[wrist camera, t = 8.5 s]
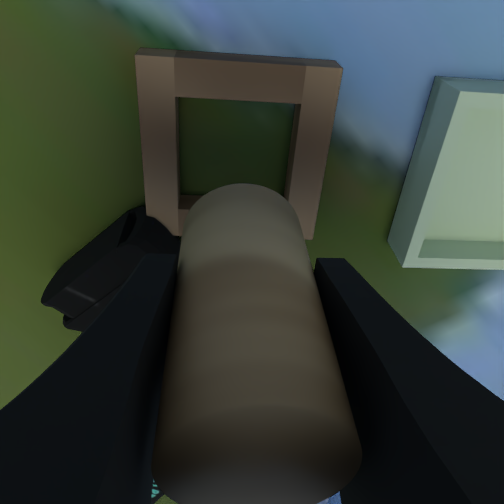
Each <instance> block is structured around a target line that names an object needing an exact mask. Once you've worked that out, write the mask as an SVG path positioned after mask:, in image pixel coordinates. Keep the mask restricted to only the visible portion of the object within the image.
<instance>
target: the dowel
mask: <svg viewBox="0 0 504 504" xmlns="http://www.w3.org/2000/svg"><path fill="white" fill-rule="evenodd" d="M361 462H362V447H361V444H360V440H359V436H358V433H357V429H356V426H355V422H354V418H353V415H352V411H351V407H350V404H349V400H348V396H347V393H346V389H345V385H344V382H343V378H342V375H341V371H340V367H339V364H338V360H337V356H336V353H335V349H334V345H333V342H332V338H331V334H330V331H329V327H328V324H327V320H326V316H325V313H324V309H323V305H322V302H321V298H320V294H319V291H318V287H317V283H316V280H315V276H314V273H313V269H312V265H311V262H310V258H309V254H308V251H307V247H306V243H305V240H304V236H303V233H302V229H301V225H300V222H299V219H298V216H297V214H296V212H295V210H294V208H293V207H292V205H291V204H290V203H289V202H288V201H287V200H286V199H285V198H284V197H283V196H281V195H280V194H278V193H277V192H275V191H273V190H271V189H269V188H266V187H263V186H260V185H255V184H245V183H240V184H231V185H226V186H222V187H219V188H217V189H214V190H212V191H210V192H209V193H207V194H205V195H204V196H202V197H201V198H200V199H199V200H198V201H197V202H196V203H195V204H194V205H193V206H192V208H191V209H190V211H189V212H188V214H187V216H186V218H185V221H184V225H183V231H182V238H181V246H180V253H179V261H178V268H177V276H176V284H175V291H174V299H173V306H172V313H171V320H170V328H169V335H168V343H167V350H166V357H165V365H164V372H163V380H162V387H161V395H160V402H159V410H158V417H157V424H156V432H155V439H154V447H153V454H152V462H151V472H152V476H153V479H154V481H155V483H156V484H157V486H158V488H159V489H160V490H161V491H162V492H163V493H164V494H165V495H167V496H168V497H169V498H171V499H172V500H174V501H175V502H177V503H179V504H317V503H319V502H321V501H324V500H326V499H327V498H329V497H331V496H333V495H334V494H336V493H337V492H339V491H340V490H342V489H343V488H344V487H345V486H346V485H347V484H348V483H349V482H350V481H351V480H352V479H353V478H354V476H355V475H356V473H357V472H358V470H359V468H360V465H361Z"/></svg>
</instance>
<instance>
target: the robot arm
mask: <svg viewBox="0 0 504 504" xmlns="http://www.w3.org/2000/svg"><path fill="white" fill-rule="evenodd" d="M176 276H177V256H176V254H154V253H147V254H146V255H145V256H144V257H142V259H141V260H140V262H139V263H138V265H137V266H136V268H135V269H134V270H133V272H132V273H131V275H130V276H129V277H128V279H127V280H126V281H125V283H124V284H123V285H122V287H121V288H120V289H119V290H118V292H117V293H116V294H115V295H114V297H113V298H112V299H111V300H110V301H109V303H108V304H107V305H106V306H105V307H104V309H103V310H102V311H101V312H100V314H99V315H98V316H97V317H96V318H95V319H94V321H93V322H92V323H91V324H90V325H89V326H88V327H87V328H86V329H85V330H84V331H83V332H82V334H81V335H80V336H79V337H78V338H77V339H76V340H75V341H74V342H73V343H72V344H71V345H70V346H69V347H68V349H67V350H66V351H65V352H64V353H63V354H62V355H61V356H60V357H59V358H58V359H57V360H56V361H55V362H54V363H53V364H52V365H50V366H49V367H48V368H47V369H46V370H45V371H44V372H43V373H42V374H41V375H40V376H39V377H38V378H37V379H36V380H34V381H33V382H32V383H31V384H30V385H29V386H28V387H27V388H26V389H24V390H23V391H22V392H21V393H20V394H19V395H18V396H17V397H15V398H14V399H13V400H12V401H11V402H9V403H8V404H7V405H6V406H5V407H3V408H2V409H1V410H0V504H151V496H152V487H153V481H154V479H153V476H152V472H151V462H152V454H153V447H154V439H155V432H156V424H157V417H158V410H159V402H160V395H161V387H162V380H163V372H164V365H165V357H166V350H167V343H168V335H169V328H170V320H171V313H172V306H173V299H174V291H175V284H176ZM314 276H315V280H316V283H317V287H318V291H319V294H320V298H321V302H322V305H323V309H324V313H325V316H326V320H327V324H328V327H329V331H330V334H331V338H332V342H333V345H334V349H335V353H336V356H337V360H338V364H339V367H340V371H341V375H342V378H343V382H344V385H345V389H346V393H347V396H348V400H349V404H350V407H351V411H352V415H353V418H354V422H355V426H356V429H357V433H358V436H359V440H360V444H361V447H362V462H361V465H360V468H359V470H358V472H357V473H356V475H355V476H354V478H353V479H352V480H351V481H350V482H349V483H348V484H347V485H346V486H345V487H344V488H343V489H342V490H340V497H341V503H342V504H504V401H503V400H502V399H500V398H499V397H497V396H496V395H495V394H493V393H492V392H491V391H489V390H488V389H487V388H485V387H484V386H483V385H482V384H480V383H479V382H478V381H476V380H475V379H474V378H472V377H471V376H470V375H468V374H467V373H466V372H464V371H463V370H462V369H461V368H459V367H458V366H457V365H456V364H454V363H453V362H452V361H451V360H450V359H448V358H447V357H446V356H445V355H444V354H443V353H441V352H440V351H439V350H438V349H437V348H436V347H435V346H433V345H432V344H431V343H430V342H429V341H428V340H427V339H425V338H424V337H423V336H422V335H421V334H420V333H419V332H418V331H417V330H415V329H414V328H413V327H412V326H411V325H410V324H409V323H408V322H407V321H406V320H405V319H404V318H403V317H402V316H401V315H400V314H399V313H397V312H396V311H395V310H394V309H393V308H392V307H391V306H390V305H389V304H388V303H387V302H386V301H385V300H384V299H383V298H382V297H381V296H380V295H379V294H378V293H377V291H376V290H375V289H374V288H373V287H372V286H371V285H370V284H369V283H368V282H367V281H366V280H365V279H364V278H363V277H362V276H361V275H360V274H359V273H358V272H357V271H356V270H355V269H354V268H353V267H352V266H351V265H350V264H349V263H348V262H347V261H346V260H345V259H344V258H317V259H316V264H315V270H314ZM328 499H329V498H327V499H326V500H324V501H321V502H319V503H317V504H327V502H328Z"/></svg>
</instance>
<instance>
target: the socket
mask: <svg viewBox="0 0 504 504" xmlns="http://www.w3.org/2000/svg"><path fill="white" fill-rule="evenodd" d="M135 66H136V80H137V93H138V107H139V121H140V134H141V148H142V161H143V175H144V188H145V202H146V215H147V216H151V217H154V218H156V219H157V220H158V221H159V222H160V223H162V224H163V225H164V226H165V227H166V228H167V229H168V230H169V231H170V233H171V234H172V235H173V236H182V231H183V225H184V221H185V218H186V216H187V214H188V212H189V211H190V209H191V208H192V206H193V205H194V204H195V203H196V202H197V201H198V200H199V199H200V198H201V197H202V196H200V195H180V156H179V112H178V97H189V98H206V99H224V100H241V101H259V102H276V103H294V104H295V110H294V118H293V126H292V134H291V142H290V150H289V157H288V165H287V173H286V181H285V189H284V198H285V199H286V200H287V201H288V202H289V203H290V204H291V205H292V207H293V208H294V210H295V212H296V214H297V216H298V219H299V222H300V225H301V229H302V233H303V236H304V240H313V235H314V229H315V223H316V218H317V212H318V207H319V201H320V195H321V190H322V184H323V179H324V173H325V167H326V162H327V156H328V151H329V145H330V139H331V134H332V128H333V123H334V117H335V111H336V106H337V100H338V95H339V89H340V83H341V78H342V72H343V68H342V67H341V66H340V65H339V64H338V63H337V62H336V61H335V60H320V59H305V58H290V57H275V56H260V55H244V54H229V53H214V52H199V51H184V50H169V49H154V48H140V49H139V50H138V51H137V53H136V54H135Z"/></svg>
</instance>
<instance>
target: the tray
mask: <svg viewBox="0 0 504 504" xmlns="http://www.w3.org/2000/svg"><path fill="white" fill-rule="evenodd" d="M387 241H388V243H389V245H390V247H391V248H392V250H393V252H394V254H395V255H396V257H397V259H398V261H399V262H400V264H401V266H402V267H406V268H447V269H489V270H504V81H501V80H486V79H470V78H455V77H439V76H435V79H434V83H433V86H432V90H431V93H430V96H429V100H428V103H427V107H426V110H425V114H424V117H423V120H422V124H421V127H420V131H419V134H418V137H417V141H416V144H415V148H414V151H413V154H412V158H411V161H410V165H409V168H408V171H407V175H406V178H405V182H404V185H403V188H402V192H401V195H400V199H399V202H398V205H397V209H396V212H395V216H394V219H393V222H392V226H391V229H390V233H389V236H388V240H387Z"/></svg>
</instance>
